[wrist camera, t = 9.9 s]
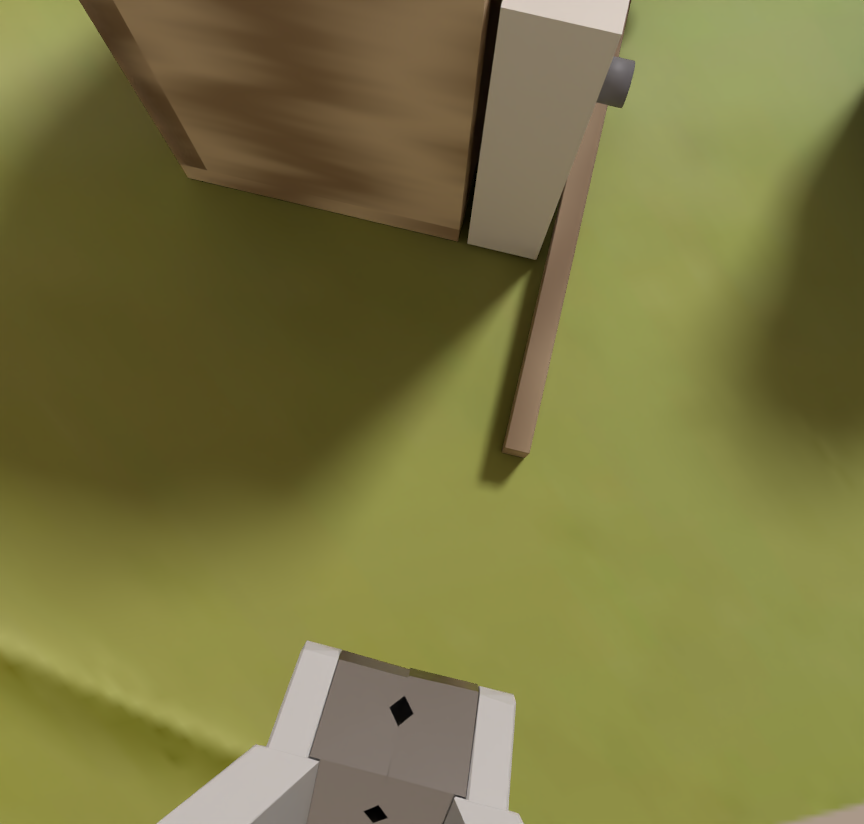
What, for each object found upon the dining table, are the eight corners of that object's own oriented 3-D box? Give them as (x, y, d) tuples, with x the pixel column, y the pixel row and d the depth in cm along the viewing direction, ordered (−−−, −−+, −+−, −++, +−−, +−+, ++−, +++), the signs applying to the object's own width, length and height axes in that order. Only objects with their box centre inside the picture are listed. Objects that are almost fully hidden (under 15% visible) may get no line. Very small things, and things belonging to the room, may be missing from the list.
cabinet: (127, 360, 27) (-183, 151, 13) (293, -143, 31) (188, -714, 17) (565, 468, 26) (721, 367, 13) (677, -58, 30) (892, -575, 16)
